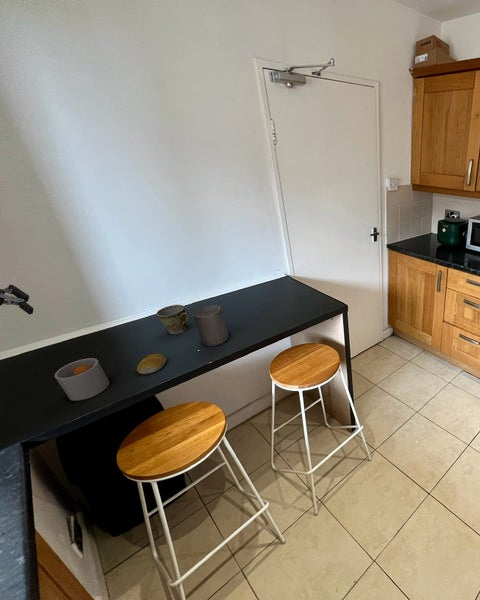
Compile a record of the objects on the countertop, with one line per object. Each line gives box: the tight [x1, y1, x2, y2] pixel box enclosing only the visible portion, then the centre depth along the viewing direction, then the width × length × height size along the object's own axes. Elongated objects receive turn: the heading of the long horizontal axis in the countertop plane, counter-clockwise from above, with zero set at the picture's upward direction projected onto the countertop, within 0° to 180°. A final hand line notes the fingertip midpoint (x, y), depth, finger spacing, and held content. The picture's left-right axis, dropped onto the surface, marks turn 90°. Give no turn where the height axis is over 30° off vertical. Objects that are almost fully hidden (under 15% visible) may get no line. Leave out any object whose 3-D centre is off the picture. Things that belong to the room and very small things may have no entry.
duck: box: [74, 365, 93, 376], centre depth 103 cm, size 6×5×8 cm
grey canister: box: [192, 304, 230, 347], centre depth 126 cm, size 10×10×15 cm
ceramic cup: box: [156, 304, 191, 335], centre depth 134 cm, size 13×10×10 cm
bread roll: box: [136, 353, 168, 375], centre depth 114 cm, size 8×9×4 cm
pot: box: [54, 357, 110, 402], centre depth 102 cm, size 10×10×9 cm
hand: (14, 319), depth 95 cm, fingers open, 8 cm apart
